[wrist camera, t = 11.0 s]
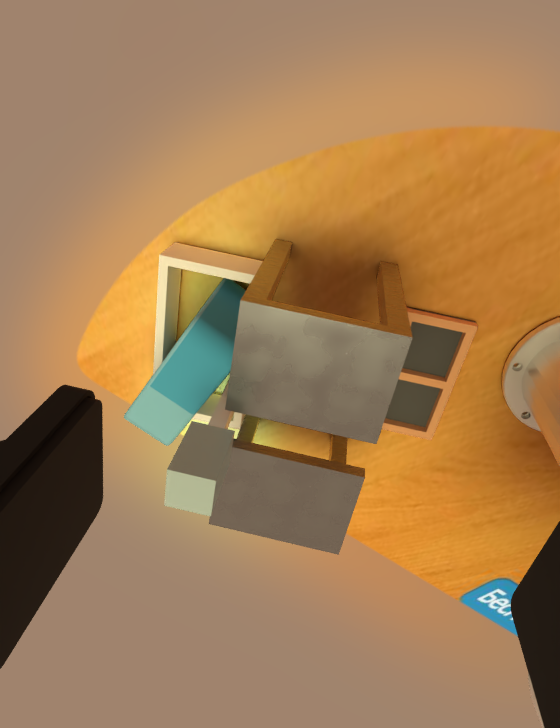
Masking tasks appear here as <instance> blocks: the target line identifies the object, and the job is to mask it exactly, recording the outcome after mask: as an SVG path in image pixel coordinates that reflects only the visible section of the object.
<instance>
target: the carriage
mask: <svg viewBox="0 0 560 728" xmlns="http://www.w3.org/2000/svg"><path fill="white" fill-rule="evenodd" d="M262 262H263V261H260V260H255V259H251V258H246V257H241V256H237V255H232V254H227V253H223V252H218V251H213V250H209V249H204V248H199V247H195V246H190V245H185V244H180V243H176V242H175V243H173V244H172V245H171V246H170V247H168V248H167V249H166V250H165V251H163V252H162V253H161V254H160V255H159V272H158V292H157V311H156V331H155V350H154V370H153V374H154V373H155V372H156V370H157V369H158V368H159V366H160V365H161V363H162V362H163V361H164V359H165V358H166V356H167V355H168V354H169V352H170V351H171V349H172V348H173V347H174V345H175V344H176V336H177V322H178V309H179V296H180V282H181V269H185V270H190V271H194V272H199V273H203V274H208V275H213V276H217V277H222V278H227V279H231V280H236V281H240V282H245V283H251V281H252V279H253V278H254V276H255V274H256V272H257V271H258V269H259V267H260V266H261V264H262ZM228 385H229V380H228V382H227V385H226V387H225V389H224V391H223V393H222V395H219V394H214V393H212V395H211V396H210V397H209V398H208V400H207V401H206V402H205V403H204V404H203V406H202V407H201V408H200V409H199V410H198V412H197V413H196V414H195V415H194V417H193V418H192V419H196V420H200V421H204V422H209V424H208V425H206V424H202V423H197V422H193V421H192V422H191V424H190V426H189V428H188V430H187V432H186V434H185V436H184V438H183V440H182V442H181V444H180V446H179V447H178V449H177V451H176V453H175V455H174V457H173V460H172V461H171V463H170V465H169V467H168V469H167V478H166V491H165V506H169V507H173V508H177V509H182V510H186V511H191V512H195V513H199V514H203V515H207V516H211V515H212V512H213V509H214V506H215V504H216V501H217V498H218V495H219V492H220V490H221V487H222V484H223V481H224V478H225V475H226V473H227V470H228V467H229V464H230V458H231V451H232V445H233V439H234V432H235V431H232V430H228V427H230V428H235V429H239V430H240V428H241V425H242V422H243V420H244V417H245V414H242V413H237V412H233V411H229V410H225V406H226V399H227V392H228Z"/></svg>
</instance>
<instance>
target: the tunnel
mask: <svg viewBox="0 0 560 728" xmlns="http://www.w3.org/2000/svg"><path fill="white" fill-rule="evenodd" d="M291 247H292V242H289V241H284V240H279V239H276V240H275V241H274V243H273V245H272V247H271V248H270V250H269V252H268V254H267V255H266V257H265V259H264V260H263V262H262V264H261V266H260V267H259V269H258V271H257V272H256V274H255V276H254V278H253V279H252V281H251V283H250V285H249V286H248V288H247V290H246V291H245V293H244V295H243V297H242V298H241V300H240V307H239V314H238V321H237V328H236V335H235V342H234V349H233V357H232V364H231V371H230V378H229V385H228V392H227V399H226V406H225V410H229V411H233V412H237V413H242V414H245V417H244V420H243V423H242V425H241V428H240V431H239V434H238V436H237V439H233V445H232V451H231V458H230V464H229V467H228V470H227V473H226V475H225V478H224V481H223V484H222V487H221V490H220V492H219V495H218V498H217V501H216V504H215V506H214V509H213V512H212V515H211V516H210V519H209V524H212V525H216V526H220V527H224V528H229V529H233V530H237V531H241V532H245V533H250V534H255V535H258V536H262V537H267V538H271V539H275V540H280V541H283V542H288V543H292V544H296V545H300V546H304V547H309V548H313V549H317V550H321V551H326V552H330V553H334V554H339V552H340V549H341V546H342V543H343V540H344V537H345V534H346V531H347V528H348V525H349V523H350V520H351V517H352V514H353V511H354V508H355V505H356V502H357V499H358V496H359V493H360V490H361V487H362V484H363V482H364V479H365V469H364V468H359V467H355V466H351V465H346V454H347V438H352V439H356V440H361V441H365V442H369V443H374V444H377V441H378V438H379V435H380V432H381V429H382V426H383V423H384V420H385V417H386V414H387V411H388V408H389V405H390V403H391V400H392V397H393V394H394V391H395V388H396V385H397V382H398V379H399V376H400V373H401V370H402V367H403V364H404V362H405V359H406V356H407V353H408V350H409V347H410V344H411V341H412V338H413V337H412V332H411V327H410V322H409V317H408V313H407V308H406V303H405V298H404V293H403V288H402V283H401V278H400V274H399V269H398V265H397V264H393V263H388V262H383V261H381V262H380V266H379V270H378V273H377V277H376V278H377V291H378V304H379V316H380V324H377V323H373V322H368V321H363V320H359V319H354V318H350V317H345V316H340V315H336V314H331V313H327V312H322V311H317V310H313V309H308V308H304V307H299V306H294V305H290V304H285V303H281V302H276V301H271V300H272V298H273V295H274V293H275V291H276V288H277V286H278V284H279V282H280V279H281V277H282V275H283V272H284V270H285V268H286V265H287V263H288V261H289V258H290V253H291ZM260 418H264V419H268V420H273V421H277V422H281V423H286V424H290V425H295V426H299V427H303V428H308V429H312V430H317V431H321V432H325V433H330V434H332V437H331V441H330V452H329V460H325V459H320V458H316V457H312V456H307V455H303V454H298V453H294V452H290V451H285V450H281V449H277V448H272V447H268V446H264V445H259V444H255V443H253V440H254V437H255V434H256V431H257V428H258V424H259V420H260Z"/></svg>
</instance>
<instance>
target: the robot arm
mask: <svg viewBox="0 0 560 728" xmlns="http://www.w3.org/2000/svg"><path fill="white" fill-rule="evenodd" d="M516 363H517V364H516ZM514 364H515V365H514ZM502 390H503V395H504V398H505V400H506V402H507V405H508V407H509V408H510V410H511V411H512V413H513V414H514V415H515V416H516V417H517V419H518V420H520V421H521V422H522V423H524V424H525V425H527V426H528V427H530V428H532V429H535V430H537V431H540V432H542V434H543V436H544V438H545V439H546V441H547V443H548V445H549V447H550V449H551V451H552V453H553V455H554V456H555V458H556V460H557V462H558V464H559V466H560V317H559V318H556V319H553V320H551V321H549V322H547V323H545V324H542V325H541V326H539V327H538V328H536V329H534V330H533V331H531V332H530V333H529V334H527V335H526V336H525V337H524V338H523V339H522V340H521V341H520V342H519V343H518V344H517V345H516V347H515V348H514V349H513V350H512V352H511V353H510V355H509V357H508V359H507V361H506V363H505V366H504V369H503V373H502ZM102 443H103V439H102V403H101V401H100V400H97V399H95V395H94V393H93V392H92V391H90V390H86V389H82V388H77V387H72V386H68V385H63V386H61V387H59V388H58V389H57V390H56V391H55V392H54V393H53V394H52V395H51V396H50V397H49V398H48V399H47V400H46V401H45V402H44V403H43V404H42V405H41V406H40V407H39V408H38V409H37V410H36V411H35V412H34V413H33V414H32V415H30V416H29V418H28V419H26V420H25V421H24V422H23V423H22V425H20V426H19V427H18V428H17V429H16V430H15V431H14V432H13V433H12V434H11V435H10V436H9V437H8V438H7V439H6V440H3V441H0V668H1V667H2V666H3V665H4V663H5V661H6V660H7V658H8V657H9V655H10V654H11V652H12V650H13V649H14V647H15V646H16V644H17V642H18V641H19V639H20V638H21V636H22V634H23V632H24V631H25V630H26V628H27V626H28V625H29V623H30V622H31V620H32V618H33V617H34V615H35V614H36V612H37V610H38V608H39V607H40V605H41V604H42V602H43V601H44V599H45V598H46V596H47V594H48V592H49V591H50V590H51V588H52V586H53V585H54V583H55V581H56V580H57V578H58V577H59V575H60V573H61V572H62V570H63V569H64V567H65V565H66V564H67V562H68V561H69V559H70V557H71V556H72V554H73V553H74V551H75V549H76V548H77V546H78V544H79V543H80V541H81V540H82V538H83V537H84V535H85V533H86V532H87V530H88V529H89V527H90V525H91V523H92V522H93V521H94V519H95V517H96V516H97V514H98V512H99V510H100V508H101V504H102V500H103V450H102V449H103V444H102ZM511 613H512V617H513V620H514V624H515V627H516V631H517V634H518V638H519V641H520V644H521V648H522V652H523V655H524V658H525V662H526V665H527V669H528V673H529V674H528V680H529V687H530V693H531V697H532V700H533V704H534V707H535V710H536V713H537V715H538V718H539V720H540V723H541V725H542V727H543V728H560V521H559V523H558V525H557V526H556V528H555V529H554V531H553V532H552V534H551V535H550V537H549V539H548V540H547V542H546V543H545V545H544V546H543V548H542V550H541V551H540V553H539V554H538V556H537V557H536V559H535V560H534V562H533V564H532V565H531V567H530V568H529V570H528V571H527V573H526V575H525V576H524V578H523V579H522V581H521V582H520V584H519V585H518V587H517V589H516V590H515V592H514V593H513V596H512V599H511Z"/></svg>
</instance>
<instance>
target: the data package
mask: <svg viewBox="0 0 560 728" xmlns="http://www.w3.org/2000/svg"><path fill="white" fill-rule="evenodd" d="M245 291H246V290H245V289H243V288H242V287H241V286H239V285H238V284H237V283H235V282H234V281H233V280H231V279H227V278H223V280H222V281H221V282H220V284H219V285H218V286H217V288H216V289H215V290H214V292H213V293H212V295H211V296H210V297H209V299H208V300H207V301H206V303H205V304H204V305H203V307H202V308H201V309H200V311H199V312H198V314H197V315H196V316H195V318H194V319H193V320H192V322H191V323H190V324H189V326H188V327H187V329H186V330H185V331H184V333H183V334H182V336H181V337H180V338H179V340H178V341H177V342H176V344H175V345H174V347H173V348H172V349H171V351H170V352H169V354H168V355H167V356H166V358H165V359H164V361H163V362H162V363H161V365H160V366H159V368H158V369H157V370H156V372H155V373H154V374H153V376H152V377H151V379H150V380H149V381H148V383H147V384H146V386H145V387H144V388H143V390H142V391H141V393H140V394H139V395H138V397H137V398H136V400H135V401H134V402H133V404H132V405H131V407H130V408H129V409H128V411H127V412H126V413H125V415H124V418H125V419H126V420H128V421H129V422H131V423H132V424H134V425H135V426H137V427H138V428H140V429H142V430H143V431H144V432H146V433H148V434H149V435H151V436H152V437H154V438H155V439H157V440H158V441H160V442H161V443H163V444H164V445H170V444H171V443H172V442H173V441H174V440H175V438H176V437H177V436H178V435H179V434H180V432H181V431H182V430H183V429H184V428H185V426H186V425H187V424H188V423H189V421H190V420H191V419H192V418H193V417H194V415H195V414H196V413H197V412H198V410H199V409H200V408H201V407H202V406H203V404H204V403H205V402H206V401H207V400H208V398H209V397H210V396H211V395H212V393H213V392H214V391H215V390H216V389H217V387H218V386H219V385H220V384H221V383H222V381H223V380H224V379H225V378H226V376H227V375H228V374H229V373H230V371H231V364H232V357H233V349H234V342H235V335H236V328H237V321H238V314H239V307H240V300H241V298H242V297H243V295H244V293H245Z"/></svg>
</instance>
